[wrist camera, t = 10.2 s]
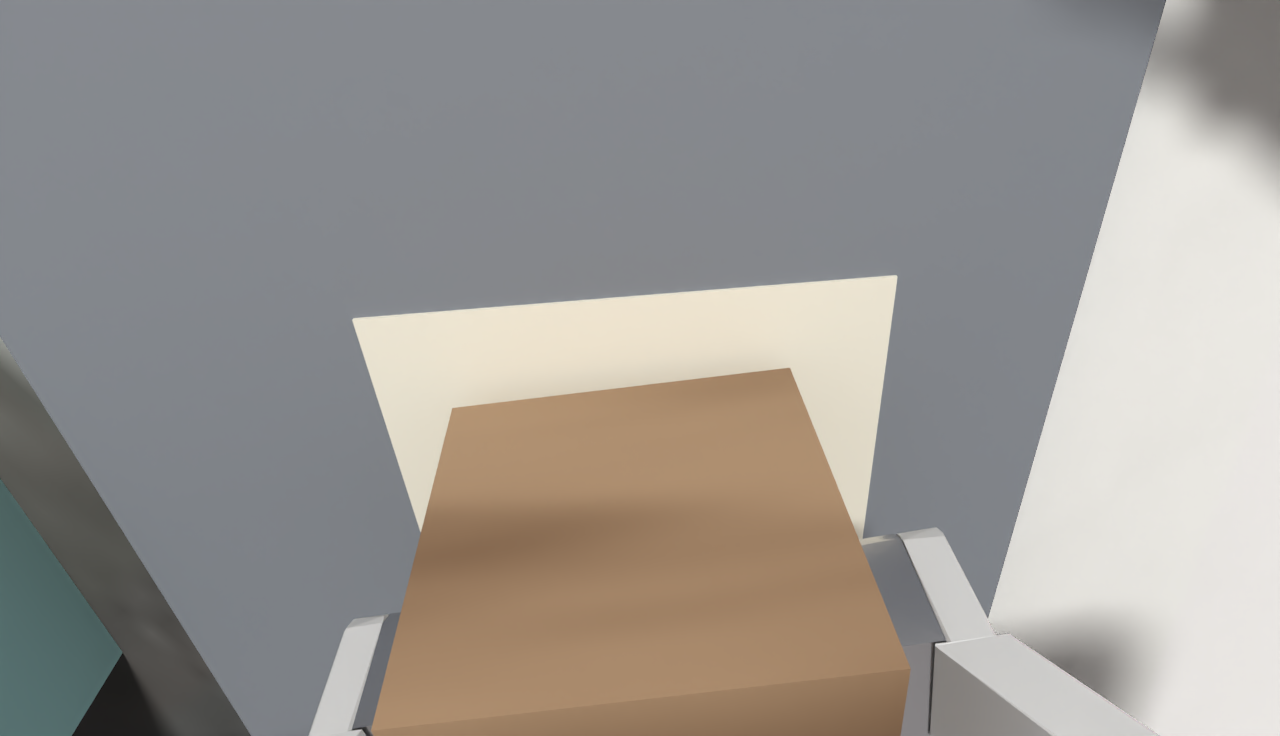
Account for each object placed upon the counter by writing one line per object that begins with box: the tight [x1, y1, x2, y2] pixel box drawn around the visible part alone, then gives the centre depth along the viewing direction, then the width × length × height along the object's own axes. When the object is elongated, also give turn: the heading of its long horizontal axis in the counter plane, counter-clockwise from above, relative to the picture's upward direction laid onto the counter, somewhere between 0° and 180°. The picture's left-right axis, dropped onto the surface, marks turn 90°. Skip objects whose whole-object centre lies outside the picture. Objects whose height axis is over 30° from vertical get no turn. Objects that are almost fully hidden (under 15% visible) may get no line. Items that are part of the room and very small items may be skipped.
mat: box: [0, 0, 1166, 736], centre depth 13 cm, size 20×14×1 cm
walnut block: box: [371, 368, 911, 736], centre depth 9 cm, size 4×4×4 cm
